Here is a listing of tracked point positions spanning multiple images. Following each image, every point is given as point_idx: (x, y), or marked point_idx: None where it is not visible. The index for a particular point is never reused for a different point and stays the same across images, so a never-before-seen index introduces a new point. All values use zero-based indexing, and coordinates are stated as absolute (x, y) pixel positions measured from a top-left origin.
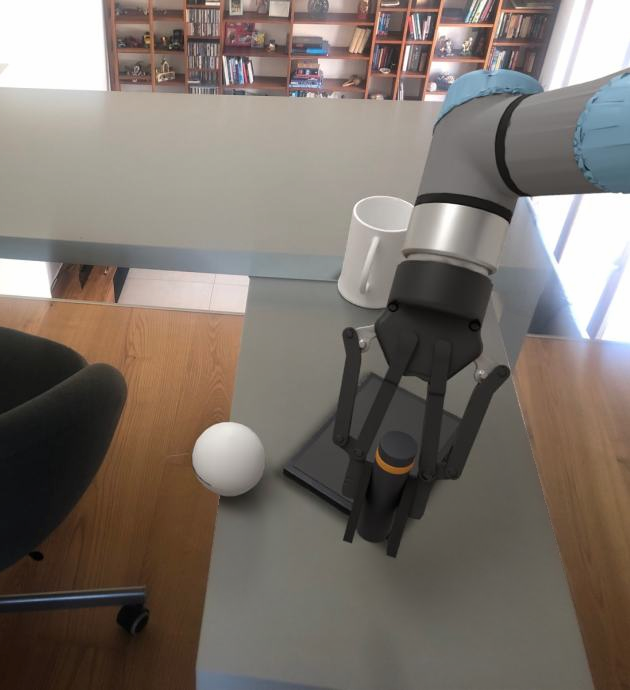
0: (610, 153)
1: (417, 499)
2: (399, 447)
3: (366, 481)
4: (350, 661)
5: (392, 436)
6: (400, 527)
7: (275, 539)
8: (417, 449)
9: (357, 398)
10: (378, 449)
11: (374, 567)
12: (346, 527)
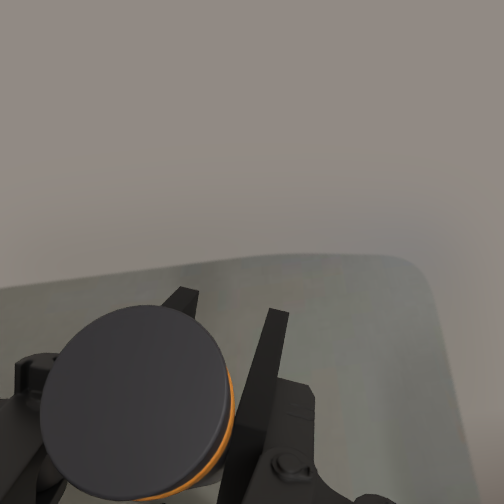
0: None
1: None
2: (137, 368)
3: (252, 388)
4: (242, 280)
5: (159, 443)
6: None
7: (373, 468)
8: (49, 372)
9: None
10: (230, 399)
11: None
12: (286, 326)
